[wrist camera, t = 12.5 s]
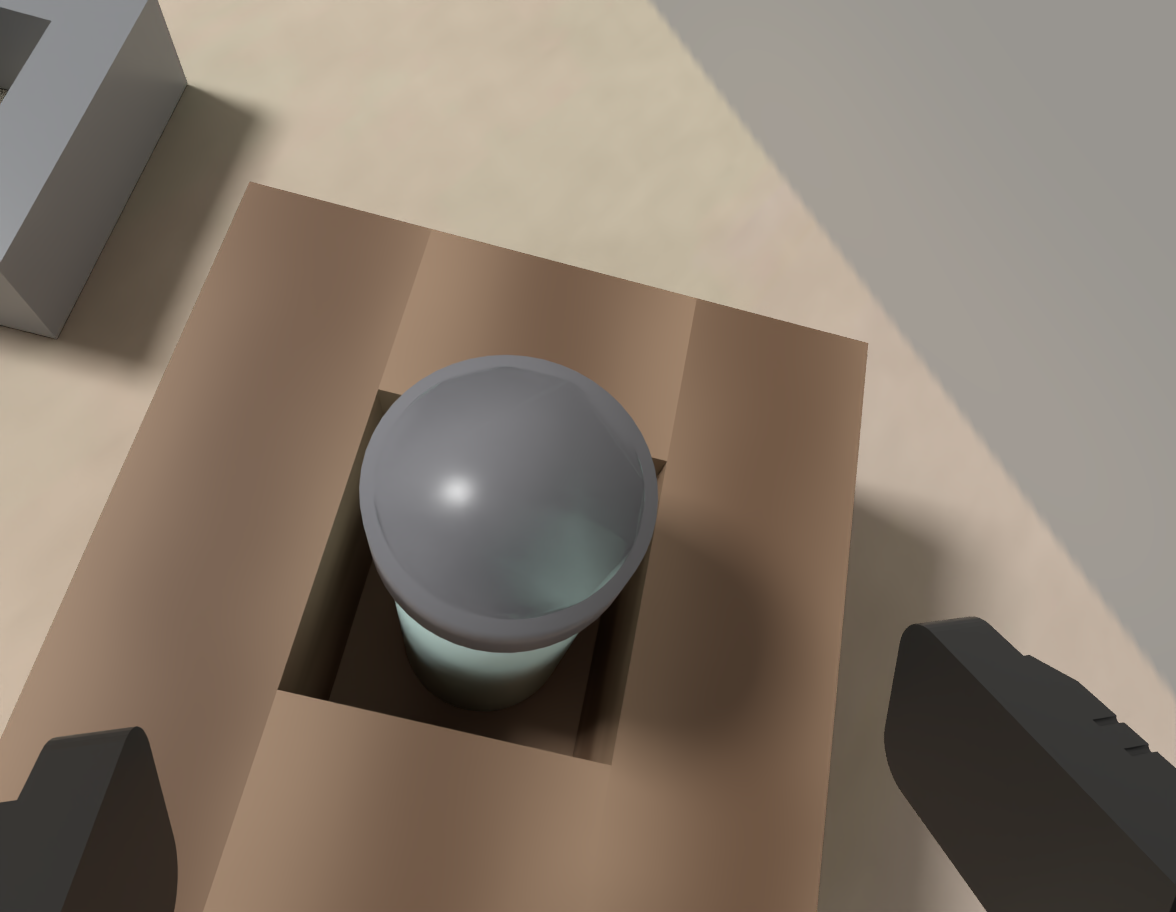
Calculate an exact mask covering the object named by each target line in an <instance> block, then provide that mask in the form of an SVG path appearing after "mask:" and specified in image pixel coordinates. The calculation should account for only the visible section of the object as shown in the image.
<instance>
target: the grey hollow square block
mask: <svg viewBox="0 0 1176 912" xmlns="http://www.w3.org/2000/svg"><path fill="white" fill-rule="evenodd" d="M186 85H187V80H186V77H185V75H184V72H183V69H182V66H181V64H180V61H179V58H178V55H177V53H176V50H175V47H174V44H173V41H172V39H171V36H170V33H169V30H168V28H167V25H166V22H165V19H164V17H163V14H162V11H161V8H160V5H159V3H158V0H0V88H3V89H7V90H9V91H8V92H7V94H6V96H5V97H4V99H3V101H2V102H1V104H0V325H2V326H6V327H10V328H14V329H18V330H22V331H26V332H30V333H34V334H38V335H42V336H46V337H51V338H55V339H57V338H58V336H59V334H60V332H61V330H62V328H63V326H64V324H65V322H66V320H67V318H68V316H69V314H70V312H71V310H72V308H73V306H74V304H75V303H76V301H77V299H78V297H79V295H80V293H81V291H82V289H83V287H84V285H85V283H86V281H87V279H88V277H89V275H90V273H91V271H92V269H93V267H94V265H95V263H96V261H97V259H98V258H99V256H100V254H101V252H102V250H103V248H104V246H105V244H106V242H107V240H108V238H109V236H110V234H111V232H112V230H113V228H114V226H115V224H116V222H117V220H118V218H119V216H120V214H121V212H122V211H123V209H124V207H125V205H126V203H127V201H128V199H129V197H130V195H131V193H132V191H133V189H134V187H135V185H136V183H137V181H138V179H139V177H140V175H141V173H142V171H143V169H144V167H145V166H146V164H147V162H148V160H149V158H150V156H151V154H152V152H153V150H154V148H155V146H156V144H157V142H158V140H159V138H160V136H161V134H162V132H163V130H164V128H165V126H166V124H167V122H168V120H169V119H170V117H171V115H172V113H173V111H174V109H175V107H176V105H177V103H178V101H179V99H180V97H181V95H182V93H183V91H184V89H185V87H186Z"/></svg>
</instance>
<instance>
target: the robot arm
mask: <svg viewBox="0 0 1176 912" xmlns="http://www.w3.org/2000/svg"><path fill="white" fill-rule="evenodd" d="M884 743H885V751H886V757H887V761H888V764H889V767H890V770H891V773H892V775H893V778H894V780H895V782H896V784H897V786H898V787H899V789H900V790H901V792H902V793H903V795H904V796H905V797H906V799H907V800H908V802H909V803H910V804H911V806H912V807H913V809H914V810H915V811H916V813H917V814H918V816H919V817H920V818H921V820H922V821H923V823H924V824H925V825H926V827H927V828H928V830H929V831H930V832H931V834H932V835H933V837H934V838H935V839H936V841H937V842H938V844H939V845H940V846H941V848H942V849H943V851H944V852H945V853H946V855H947V856H948V858H949V859H950V860H951V862H952V863H953V865H954V866H955V868H956V869H957V870H958V872H959V873H960V875H961V876H962V877H963V879H964V880H965V882H966V883H967V884H968V886H969V887H970V889H971V890H972V891H973V893H974V894H975V896H976V897H977V898H978V900H979V901H980V903H981V904H982V905H983V907H984V908H985V910H986V911H987V912H1176V768H1175V767H1174V766H1173V765H1171V764H1170V763H1169V762H1168V761H1167V760H1166V759H1165V758H1164V757H1162V756H1161V755H1160V754H1159V753H1158V752H1151V751H1150V750H1149V747H1148V745H1149V744H1148V743H1147V742H1146V741H1144V740H1143V739H1142V738H1141V737H1140V736H1139V735H1138V734H1137V733H1135V732H1134V731H1133V730H1132V729H1131V728H1130V727H1129V726H1128V725H1126V724H1125V723H1118V721H1117V719H1116V715H1115V714H1114V713H1113V712H1112V711H1111V710H1110V709H1108V708H1107V707H1106V706H1105V705H1104V704H1103V703H1102V702H1101V701H1099V700H1098V699H1097V698H1096V697H1095V696H1094V695H1093V694H1092V693H1090V692H1089V691H1088V690H1087V689H1086V688H1085V687H1084V686H1083V685H1081V684H1080V683H1079V682H1078V681H1076V680H1074V679H1073V678H1071V677H1069V676H1067V675H1065V674H1063V673H1062V672H1060V671H1058V670H1056V669H1054V668H1052V667H1050V666H1049V665H1047V664H1045V663H1043V662H1041V661H1039V660H1038V659H1036V658H1034V657H1032V656H1030V655H1026V656H1023V655H1022V654H1021V653H1020V652H1019V651H1018V650H1016V649H1015V648H1014V647H1013V646H1012V645H1011V644H1010V643H1009V642H1008V641H1007V640H1006V639H1005V638H1004V637H1002V636H1001V635H1000V634H999V633H998V632H997V631H996V630H995V629H994V628H993V627H992V626H991V625H989V624H988V623H987V622H986V621H984V620H982V619H980V618H978V617H964V618H957V619H949V620H942V621H935V622H927V623H920V624H913V625H910V626H909V627H908V628H906V630H905V631H904V633H903V635H902V637H901V641H900V645H899V651H898V657H897V662H896V668H895V674H894V679H893V685H892V691H891V697H890V702H889V708H888V714H887V719H886V725H885V732H884ZM177 883H178V861H177V851H176V844H175V839H174V835H173V831H172V827H171V824H170V820H169V816H168V812H167V808H166V804H165V801H164V797H163V793H162V789H161V785H160V781H159V778H158V774H157V770H156V766H155V762H154V758H153V754H152V751H151V747H150V743H149V740H148V737H147V735H146V733H145V732H144V730H143V729H142V728H141V727H138V726H135V727H128V728H120V729H113V730H105V731H98V732H90V733H83V734H75V735H68V736H60V737H55V738H52V739H50V740H49V741H48V742H47V743H46V744H45V745H44V747H43V749H42V750H41V752H40V754H39V756H38V758H37V760H36V762H35V764H34V766H33V768H32V770H31V773H30V775H29V777H28V779H27V781H26V783H25V785H24V787H23V789H22V791H21V793H20V795H19V797H18V799H17V800H13V801H6V802H0V912H174V909H175V903H176V896H177Z"/></svg>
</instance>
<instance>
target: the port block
mask: <svg viewBox="0 0 1176 912" xmlns="http://www.w3.org/2000/svg"><path fill="white" fill-rule="evenodd" d="M867 350H868V343H865V342H862V341H858V340H854V339H850V338H846V337H842V336H839V335H835V334H831V333H827V332H823V331H820V330H816V329H812V328H808V327H804V326H800V325H797V324H793V323H789V322H785V321H781V320H777V319H774V318H770V317H766V316H762V315H758V314H754V313H751V312H747V311H743V310H739V309H735V308H732V307H728V306H724V305H720V304H716V303H712V302H709V301H705V300H701V299H697V298H693V297H689V296H686V295H682V294H678V293H674V292H670V291H666V290H663V289H659V288H655V287H651V286H647V285H643V284H640V283H636V282H632V281H628V280H624V279H621V278H617V277H613V276H609V275H605V274H601V273H598V272H594V271H590V270H586V269H582V268H578V267H575V266H571V265H567V264H563V263H559V262H555V261H552V260H548V259H544V258H540V257H536V256H532V255H529V254H525V253H521V252H517V251H513V250H510V249H506V248H502V247H498V246H494V245H490V244H487V243H483V242H479V241H475V240H471V239H467V238H464V237H460V236H456V235H452V234H448V233H444V232H441V231H437V230H433V229H429V228H425V227H421V226H418V225H414V224H410V223H406V222H402V221H399V220H395V219H391V218H387V217H383V216H379V215H376V214H372V213H368V212H364V211H360V210H356V209H353V208H349V207H345V206H341V205H337V204H333V203H330V202H326V201H322V200H318V199H314V198H311V197H307V196H303V195H299V194H295V193H291V192H288V191H284V190H280V189H276V188H272V187H268V186H265V185H261V184H257V183H253V182H249V185H248V187H247V189H246V191H245V193H244V196H243V198H242V200H241V202H240V205H239V207H238V209H237V211H236V214H235V216H234V218H233V220H232V223H231V225H230V227H229V229H228V231H227V234H226V236H225V238H224V240H223V243H222V245H221V247H220V249H219V252H218V254H217V256H216V258H215V261H214V263H213V265H212V267H211V269H210V272H209V274H208V276H207V278H206V281H205V283H204V285H203V287H202V290H201V292H200V294H199V296H198V299H197V301H196V303H195V305H194V307H193V310H192V312H191V314H190V316H189V319H188V321H187V323H186V325H185V328H184V330H183V332H182V334H181V337H180V339H179V341H178V343H177V345H176V348H175V350H174V352H173V354H172V357H171V359H170V361H169V363H168V366H167V368H166V370H165V372H164V375H163V377H162V379H161V381H160V383H159V386H158V388H157V390H156V392H155V395H154V397H153V399H152V401H151V404H150V406H149V408H148V410H147V413H146V415H145V417H144V419H143V421H142V424H141V426H140V428H139V430H138V433H137V435H136V437H135V439H134V442H133V444H132V446H131V448H130V451H129V453H128V455H127V457H126V459H125V462H124V464H123V466H122V468H121V471H120V473H119V475H118V477H117V480H116V482H115V484H114V486H113V489H112V491H111V493H110V495H109V497H108V500H107V502H106V504H105V506H104V509H103V511H102V513H101V515H100V518H99V520H98V522H97V524H96V527H95V529H94V531H93V533H92V535H91V538H90V540H89V542H88V544H87V547H86V549H85V551H84V553H83V556H82V558H81V560H80V562H79V565H78V567H77V569H76V571H75V574H74V576H73V578H72V580H71V582H70V585H69V587H68V589H67V591H66V594H65V596H64V598H63V600H62V603H61V605H60V607H59V609H58V612H57V614H56V616H55V618H54V620H53V623H52V625H51V627H50V629H49V632H48V634H47V636H46V638H45V641H44V643H43V645H42V647H41V650H40V652H39V654H38V656H37V658H36V661H35V663H34V665H33V667H32V670H31V672H30V674H29V676H28V679H27V681H26V683H25V685H24V688H23V690H22V692H21V694H20V696H19V699H18V701H17V703H16V705H15V708H14V710H13V712H12V714H11V717H10V719H9V721H8V723H7V726H6V728H5V730H4V732H3V734H2V737H1V739H0V802H6V801H13V800H17V799H18V797H19V795H20V793H21V791H22V789H23V787H24V785H25V783H26V781H27V779H28V777H29V775H30V773H31V770H32V768H33V766H34V764H35V762H36V760H37V758H38V756H39V754H40V752H41V750H42V749H43V747H44V745H45V744H46V743H47V742H48V741H49V740H50V739H52V738H55V737H60V736H68V735H75V734H83V733H90V732H98V731H105V730H113V729H120V728H128V727H135V726H138V727H141V728H142V729H143V730H144V732H145V733H146V735H147V737H148V740H149V743H150V747H151V751H152V754H153V758H154V762H155V766H156V770H157V774H158V778H159V781H160V785H161V789H162V793H163V797H164V801H165V804H166V808H167V812H168V816H169V820H170V824H171V827H172V831H173V835H174V839H175V844H176V851H177V861H178V883H177V896H176V903H175V909H174V912H817V905H818V894H819V883H820V872H821V861H822V850H823V839H824V827H825V816H826V805H827V794H828V783H829V772H830V761H831V750H832V739H833V727H834V716H835V705H836V694H837V683H838V672H839V661H840V650H841V639H842V628H843V616H844V605H845V594H846V583H847V572H848V561H849V550H850V539H851V528H852V517H853V505H854V494H855V483H856V472H857V461H858V450H859V439H860V428H861V417H862V405H863V394H864V383H865V372H866V361H867ZM494 355H516V356H527V357H533V358H538V359H544V360H547V361H550V362H554V363H557V364H560V365H563V366H565V367H567V368H570V369H572V370H574V371H576V372H578V373H580V374H582V375H584V376H585V377H587V378H589V379H591V380H592V381H594V382H595V383H596V384H598V385H599V386H600V387H602V388H603V389H605V390H606V391H607V392H608V393H609V394H610V395H611V396H613V397H614V398H615V399H616V400H617V401H618V402H619V403H620V404H621V405H622V407H623V408H624V409H625V410H626V411H627V413H628V414H629V415H630V416H631V417H632V419H633V420H634V422H635V424H636V425H637V427H638V428H639V430H640V431H641V433H642V435H643V437H644V439H645V442H646V444H647V446H648V448H649V451H650V454H651V457H652V460H653V463H654V467H655V473H656V478H657V485H658V508H657V518H656V523H655V527H654V531H653V535H652V538H651V541H650V543H649V546H648V548H647V551H646V553H645V555H644V557H643V559H642V561H641V562H640V564H639V566H638V568H637V569H636V571H635V572H634V574H633V575H632V576H631V578H630V579H629V581H628V582H627V583H626V585H625V586H624V588H623V589H622V590H621V592H620V593H619V595H618V596H617V597H616V598H615V600H614V601H613V602H612V604H611V605H610V606H609V608H608V609H607V610H606V611H605V612H604V613H602V614H601V615H600V616H599V617H598V618H597V619H596V620H595V621H594V622H593V623H591V624H590V625H589V626H587V627H586V628H585V629H583V630H582V631H580V632H579V633H578V634H577V636H576V637H575V639H574V640H573V642H572V644H571V645H570V647H569V648H568V650H567V651H566V653H565V654H564V656H563V657H562V659H561V660H560V662H559V663H558V665H557V666H556V668H555V670H554V671H553V673H552V674H551V676H550V677H549V678H548V680H547V681H546V682H545V683H544V685H543V686H542V687H540V688H539V689H538V690H537V691H536V692H535V693H534V694H533V695H531V696H530V697H529V698H527V699H525V700H524V701H522V702H520V703H518V704H516V705H513V706H511V707H508V708H504V709H501V710H495V711H471V710H465V709H461V708H458V707H455V706H453V705H450V704H448V703H446V702H444V701H442V700H441V699H439V698H438V697H436V696H435V695H434V694H432V693H431V692H430V691H429V690H428V689H427V688H426V687H425V686H424V685H423V684H422V683H421V682H420V680H419V679H418V677H417V676H416V674H415V673H414V671H413V669H412V667H411V665H410V662H409V659H408V657H407V654H406V649H405V645H404V640H403V635H402V631H401V626H400V622H399V617H398V612H397V608H396V603H395V600H394V599H393V597H392V596H391V594H390V593H389V592H388V590H387V589H386V587H385V586H384V584H383V582H382V580H381V578H380V576H379V574H378V572H377V569H376V566H375V563H374V561H373V558H372V555H371V551H370V547H369V544H368V540H367V536H366V532H365V529H364V525H363V520H362V514H361V509H360V494H359V485H360V475H361V467H362V463H363V459H364V455H365V451H366V449H367V446H368V444H369V441H370V439H371V437H372V434H373V432H374V431H375V429H376V427H377V425H378V424H379V422H380V420H381V419H382V417H383V416H384V415H385V413H386V412H387V411H388V409H389V408H390V407H391V406H392V404H393V403H394V402H395V401H396V400H397V399H398V398H399V397H400V396H401V395H402V394H403V393H404V392H405V391H407V390H408V389H409V388H411V387H412V386H413V385H415V384H416V383H417V382H418V381H420V380H421V379H423V378H425V377H427V376H428V375H430V374H432V373H433V372H435V371H437V370H440V369H442V368H444V367H447V366H449V365H451V364H454V363H458V362H461V361H464V360H468V359H472V358H478V357H484V356H494Z"/></svg>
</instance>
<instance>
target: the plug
mask: <svg viewBox="0 0 1176 912" xmlns="http://www.w3.org/2000/svg"><path fill="white" fill-rule="evenodd" d="M359 494H360V509H361V514H362V520H363V525H364V529H365V532H366V536H367V540H368V544H369V547H370V551H371V555H372V558H373V561H374V563H375V566H376V569H377V572H378V574H379V576H380V578H381V580H382V582H383V584H384V586H385V587H386V589H387V590H388V592H389V593H390V594H391V596H392V597H393V599H394V600H395V603H396V608H397V612H398V617H399V622H400V626H401V631H402V635H403V640H404V645H405V649H406V654H407V657H408V659H409V662H410V665H411V667H412V669H413V671H414V673H415V674H416V676H417V677H418V679H419V680H420V682H421V683H422V684H423V685H424V686H425V687H426V688H427V689H428V690H429V691H430V692H431V693H432V694H434V695H435V696H436V697H438V698H439V699H441V700H442V701H444V702H446V703H448V704H450V705H453V706H455V707H458V708H461V709H465V710H471V711H495V710H501V709H504V708H508V707H511V706H513V705H516V704H518V703H520V702H522V701H524V700H525V699H527V698H529V697H530V696H531V695H533V694H534V693H535V692H536V691H537V690H538V689H539V688H540V687H542V686H543V685H544V683H545V682H546V681H547V680H548V678H549V677H550V676H551V674H552V673H553V671H554V670H555V668H556V666H557V665H558V663H559V662H560V660H561V659H562V657H563V656H564V654H565V653H566V651H567V650H568V648H569V647H570V645H571V644H572V642H573V640H574V639H575V637H576V636H577V634H578V633H579V632H580V631H582V630H583V629H585V628H586V627H587V626H589V625H590V624H591V623H593V622H594V621H595V620H596V619H597V618H598V617H599V616H600V615H601V614H602V613H604V612H605V611H606V610H607V609H608V608H609V606H610V605H611V604H612V602H613V601H614V600H615V598H616V597H617V596H618V595H619V593H620V592H621V590H622V589H623V588H624V586H625V585H626V583H627V582H628V581H629V579H630V578H631V576H632V575H633V574H634V572H635V571H636V569H637V568H638V566H639V564H640V562H641V561H642V559H643V557H644V555H645V553H646V551H647V548H648V546H649V543H650V541H651V538H652V535H653V531H654V527H655V523H656V518H657V508H658V485H657V478H656V473H655V467H654V463H653V460H652V457H651V454H650V451H649V448H648V446H647V444H646V442H645V439H644V437H643V435H642V433H641V431H640V430H639V428H638V427H637V425H636V424H635V422H634V420H633V419H632V417H631V416H630V415H629V414H628V413H627V411H626V410H625V409H624V408H623V407H622V405H621V404H620V403H619V402H618V401H617V400H616V399H615V398H614V397H613V396H611V395H610V394H609V393H608V392H607V391H606V390H605V389H603V388H602V387H600V386H599V385H598V384H596V383H595V382H594V381H592V380H591V379H589V378H587V377H585V376H584V375H582V374H580V373H578V372H576V371H574V370H572V369H570V368H567V367H565V366H563V365H560V364H557V363H554V362H550V361H547V360H544V359H538V358H533V357H527V356H516V355H494V356H484V357H478V358H472V359H468V360H464V361H461V362H458V363H454V364H451V365H449V366H447V367H444V368H442V369H440V370H437V371H435V372H433V373H432V374H430V375H428V376H427V377H425V378H423V379H421V380H420V381H418V382H417V383H416V384H415V385H413V386H412V387H411V388H409V389H408V390H407V391H405V392H404V393H403V394H402V395H401V396H400V397H399V398H398V399H397V400H396V401H395V402H394V403H393V404H392V406H391V407H390V408H389V409H388V411H387V412H386V413H385V415H384V416H383V417H382V419H381V420H380V422H379V424H378V425H377V427H376V429H375V431H374V432H373V434H372V437H371V439H370V441H369V444H368V446H367V449H366V451H365V455H364V459H363V463H362V467H361V475H360V485H359Z"/></svg>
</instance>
